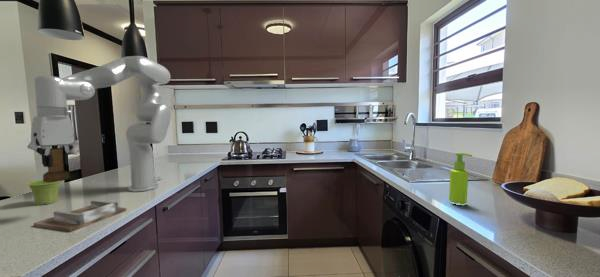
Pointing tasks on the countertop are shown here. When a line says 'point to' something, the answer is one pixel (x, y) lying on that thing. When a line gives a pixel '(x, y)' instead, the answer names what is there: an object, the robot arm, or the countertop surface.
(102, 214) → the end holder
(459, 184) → the soap dispenser
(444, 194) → the countertop surface
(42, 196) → the plant pot
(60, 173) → the wooden chess pawn
